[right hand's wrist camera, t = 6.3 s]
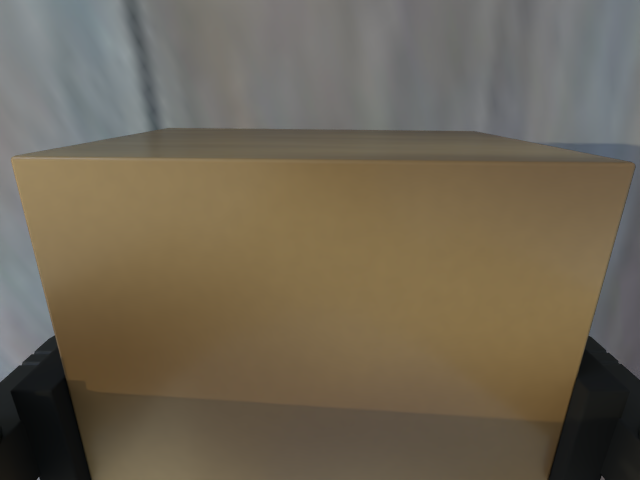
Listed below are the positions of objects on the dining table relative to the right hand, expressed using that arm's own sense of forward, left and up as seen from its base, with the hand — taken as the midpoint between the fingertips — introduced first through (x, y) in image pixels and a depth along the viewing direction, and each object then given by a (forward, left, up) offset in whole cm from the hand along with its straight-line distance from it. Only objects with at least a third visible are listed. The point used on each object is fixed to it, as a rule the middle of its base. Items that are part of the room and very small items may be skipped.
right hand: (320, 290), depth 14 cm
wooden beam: (+17, +30, -1) cm, 34 cm away
